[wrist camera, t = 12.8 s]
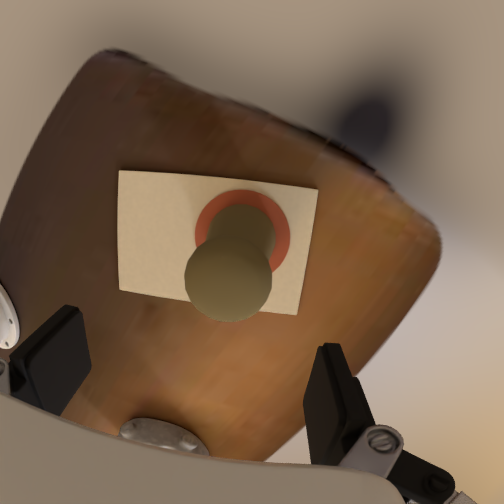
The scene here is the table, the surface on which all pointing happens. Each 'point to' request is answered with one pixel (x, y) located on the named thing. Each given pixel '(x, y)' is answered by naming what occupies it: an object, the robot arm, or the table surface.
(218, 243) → the cork
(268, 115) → the table surface
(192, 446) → the dish
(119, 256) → the placemat
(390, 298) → the table surface
